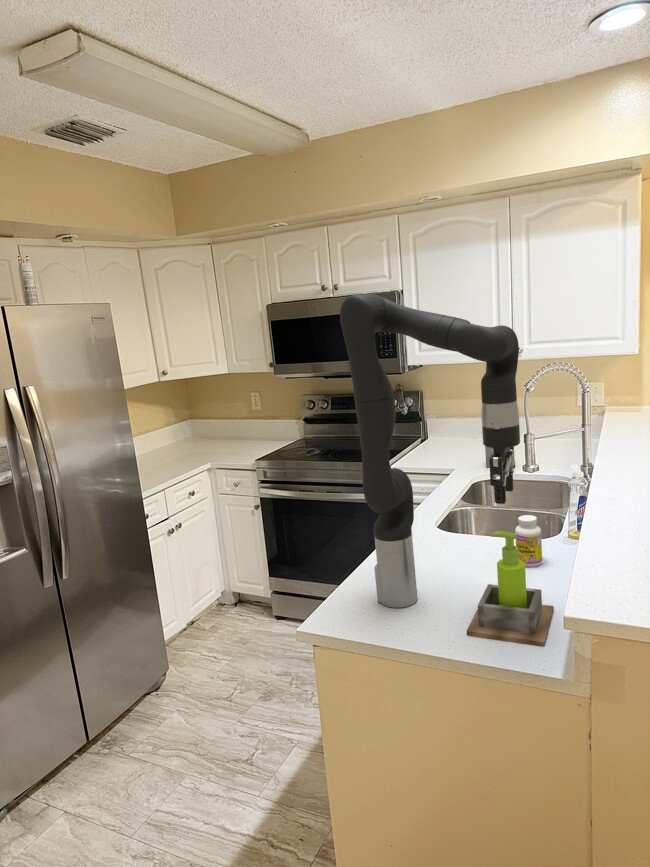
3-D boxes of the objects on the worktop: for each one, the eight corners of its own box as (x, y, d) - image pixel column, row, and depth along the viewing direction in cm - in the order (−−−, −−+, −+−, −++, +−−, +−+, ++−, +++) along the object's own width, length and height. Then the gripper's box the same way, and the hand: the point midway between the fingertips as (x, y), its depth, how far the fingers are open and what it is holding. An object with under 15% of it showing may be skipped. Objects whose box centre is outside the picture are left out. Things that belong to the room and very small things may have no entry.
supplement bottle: (512, 565, 163) (510, 520, 160) (521, 556, 168) (519, 512, 166) (537, 569, 159) (535, 523, 156) (545, 560, 164) (543, 515, 161)
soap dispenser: (502, 609, 138) (497, 526, 135) (531, 615, 134) (527, 531, 130) (491, 620, 134) (486, 535, 130) (521, 627, 130) (517, 540, 126)
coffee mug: (510, 469, 255) (509, 446, 254) (486, 470, 258) (485, 447, 256) (508, 461, 268) (507, 439, 266) (485, 462, 271) (484, 440, 269)
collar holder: (466, 635, 131) (465, 609, 130) (483, 601, 145) (481, 578, 144) (544, 646, 124) (543, 619, 122) (553, 610, 137) (552, 585, 136)
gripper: (489, 416, 134) (493, 486, 137) (474, 430, 121) (479, 506, 124) (524, 415, 130) (527, 487, 133) (512, 429, 118) (516, 508, 121)
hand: (504, 496), depth 129 cm, fingers open, 8 cm apart
